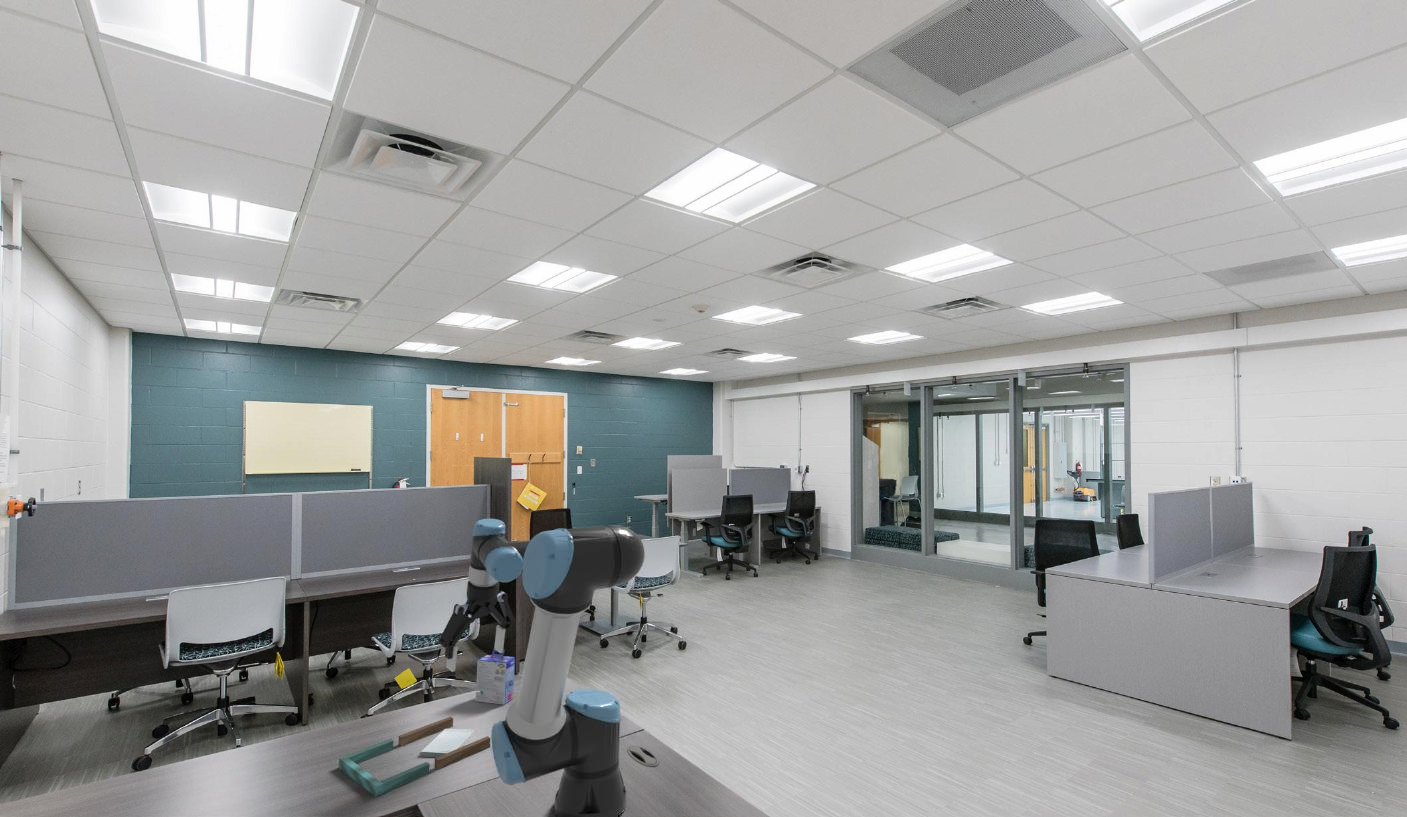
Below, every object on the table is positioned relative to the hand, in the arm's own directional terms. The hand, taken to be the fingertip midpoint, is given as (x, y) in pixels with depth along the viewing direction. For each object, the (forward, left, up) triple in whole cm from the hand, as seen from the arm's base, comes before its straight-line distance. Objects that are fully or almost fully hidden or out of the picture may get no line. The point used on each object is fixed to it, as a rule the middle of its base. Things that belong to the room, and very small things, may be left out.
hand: (475, 659), depth 155 cm
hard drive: (+6, +3, -23) cm, 24 cm away
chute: (+6, +11, -22) cm, 25 cm away
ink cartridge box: (+20, -20, -22) cm, 36 cm away
